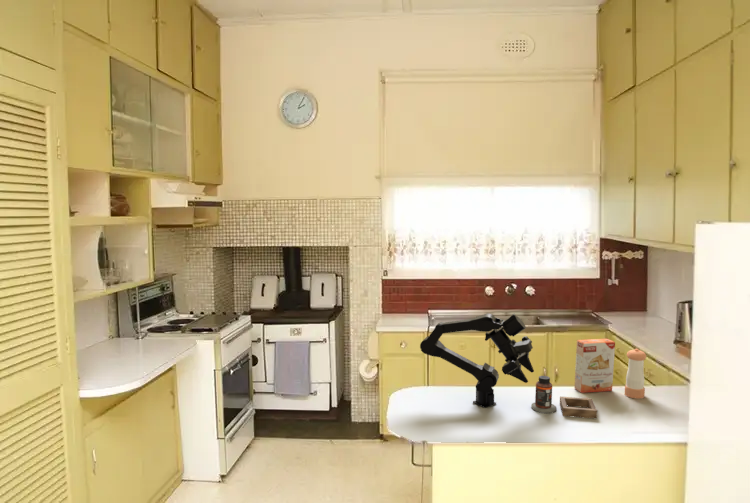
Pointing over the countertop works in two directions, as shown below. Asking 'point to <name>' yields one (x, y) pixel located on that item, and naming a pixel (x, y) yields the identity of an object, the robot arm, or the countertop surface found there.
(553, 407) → the grey round disc
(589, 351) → the cracker box
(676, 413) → the countertop surface
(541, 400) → the supplement bottle
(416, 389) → the countertop surface
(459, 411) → the countertop surface
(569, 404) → the walnut holder
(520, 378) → the robot arm
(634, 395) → the pepper shaker
